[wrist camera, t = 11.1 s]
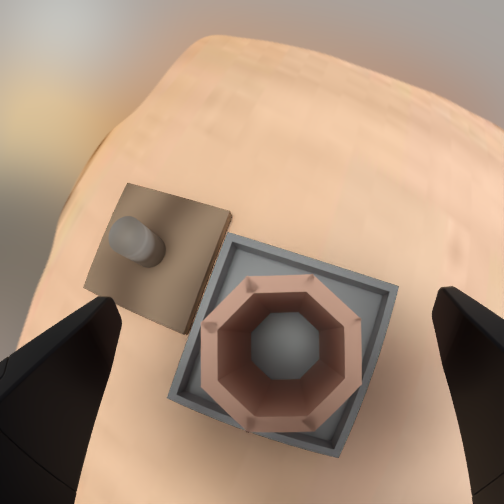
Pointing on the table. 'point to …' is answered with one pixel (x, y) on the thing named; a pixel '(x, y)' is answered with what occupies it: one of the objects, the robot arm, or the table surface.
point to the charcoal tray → (287, 335)
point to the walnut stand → (158, 255)
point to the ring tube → (255, 380)
